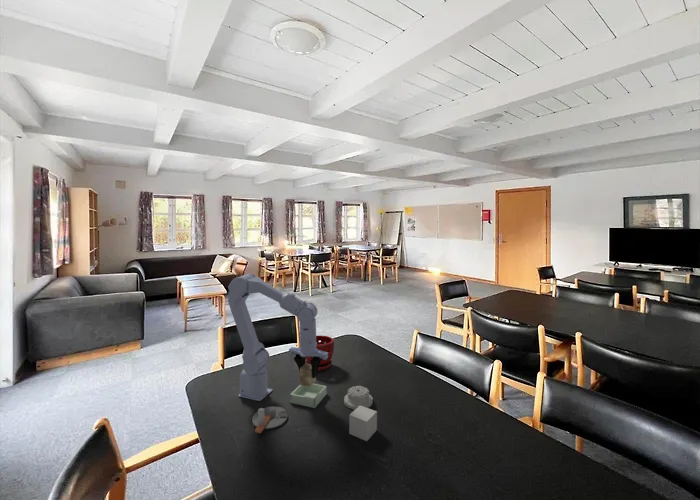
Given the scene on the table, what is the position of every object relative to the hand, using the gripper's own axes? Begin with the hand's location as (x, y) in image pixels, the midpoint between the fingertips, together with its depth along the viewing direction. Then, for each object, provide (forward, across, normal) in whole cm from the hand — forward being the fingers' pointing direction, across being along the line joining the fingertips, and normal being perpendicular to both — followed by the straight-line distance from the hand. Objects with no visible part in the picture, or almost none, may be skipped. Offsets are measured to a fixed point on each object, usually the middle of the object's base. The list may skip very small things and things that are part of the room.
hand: (308, 375), depth 113 cm
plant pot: (+8, -8, +25) cm, 28 cm away
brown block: (+2, 0, 0) cm, 2 cm away
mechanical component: (+9, +17, +4) cm, 20 cm away
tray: (+8, 0, 0) cm, 8 cm away
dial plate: (+8, -6, -15) cm, 18 cm away
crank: (+7, -5, -19) cm, 21 cm away
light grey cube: (+9, +24, -11) cm, 28 cm away
